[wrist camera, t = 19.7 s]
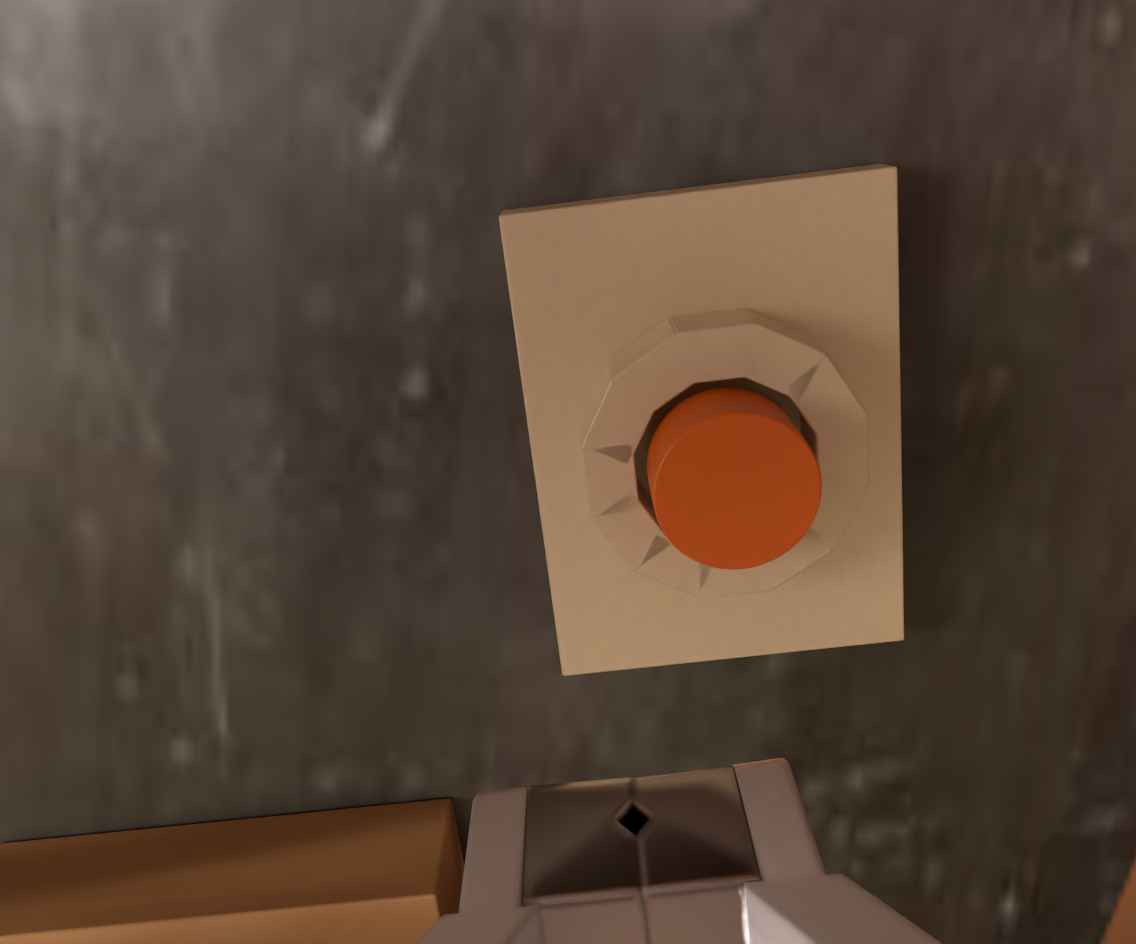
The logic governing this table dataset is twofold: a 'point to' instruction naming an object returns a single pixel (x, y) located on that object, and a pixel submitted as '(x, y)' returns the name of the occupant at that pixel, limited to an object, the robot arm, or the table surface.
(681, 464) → the button
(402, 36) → the table surface
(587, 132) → the table surface
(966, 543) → the table surface
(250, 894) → the dock
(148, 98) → the table surface
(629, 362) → the block
